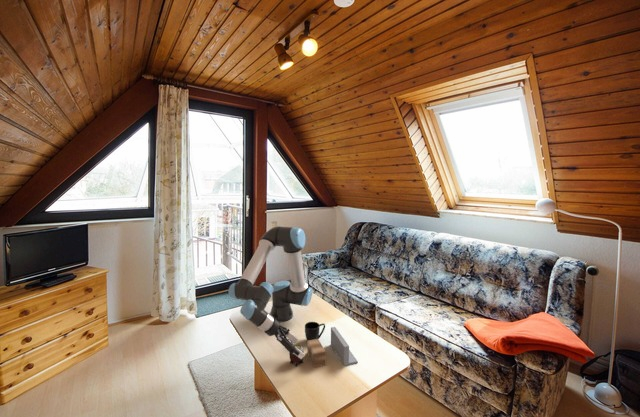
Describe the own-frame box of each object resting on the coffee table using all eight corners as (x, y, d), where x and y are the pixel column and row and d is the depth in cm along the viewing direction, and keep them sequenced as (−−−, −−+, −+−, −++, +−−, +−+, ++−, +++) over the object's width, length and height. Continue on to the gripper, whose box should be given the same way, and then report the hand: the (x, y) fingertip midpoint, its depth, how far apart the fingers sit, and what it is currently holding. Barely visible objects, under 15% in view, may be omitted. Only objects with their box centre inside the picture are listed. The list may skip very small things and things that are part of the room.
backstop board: (330, 344, 159) (330, 327, 158) (342, 342, 161) (343, 325, 160) (344, 366, 141) (344, 346, 140) (357, 363, 143) (357, 344, 142)
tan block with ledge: (306, 353, 151) (306, 340, 150) (318, 351, 153) (318, 338, 152) (313, 367, 140) (313, 354, 139) (325, 365, 142) (325, 351, 141)
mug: (327, 342, 161) (327, 326, 160) (307, 346, 157) (307, 330, 156) (322, 334, 169) (322, 319, 168) (302, 338, 165) (302, 323, 163)
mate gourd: (303, 358, 147) (303, 330, 146) (303, 368, 139) (303, 339, 138) (289, 358, 147) (288, 330, 145) (287, 368, 139) (287, 339, 138)
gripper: (260, 318, 148) (289, 341, 154) (266, 345, 124) (300, 370, 131) (270, 307, 149) (298, 330, 155) (278, 331, 125) (311, 357, 132)
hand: (299, 348), depth 143 cm, fingers open, 13 cm apart
